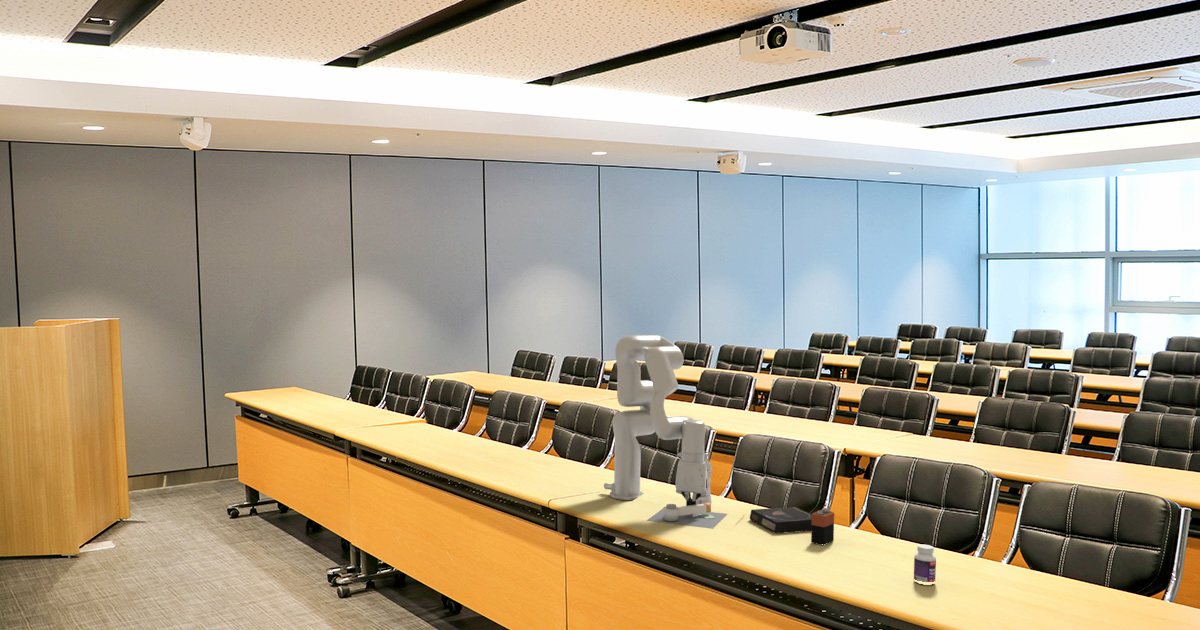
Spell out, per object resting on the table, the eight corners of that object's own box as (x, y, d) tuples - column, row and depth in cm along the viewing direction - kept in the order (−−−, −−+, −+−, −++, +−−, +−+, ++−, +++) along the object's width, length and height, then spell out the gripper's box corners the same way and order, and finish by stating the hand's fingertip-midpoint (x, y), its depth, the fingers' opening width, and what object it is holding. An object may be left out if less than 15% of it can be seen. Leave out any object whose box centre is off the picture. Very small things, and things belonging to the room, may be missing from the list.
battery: (834, 541, 271) (835, 509, 271) (823, 546, 266) (824, 513, 266) (821, 538, 274) (822, 506, 274) (810, 543, 269) (811, 510, 269)
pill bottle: (932, 587, 230) (934, 550, 230) (911, 583, 233) (912, 547, 233) (937, 581, 235) (938, 545, 234) (916, 578, 238) (917, 542, 237)
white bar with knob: (660, 518, 288) (660, 504, 287) (705, 512, 297) (705, 498, 297) (668, 521, 283) (669, 507, 283) (714, 515, 292) (714, 501, 292)
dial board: (646, 525, 286) (646, 519, 286) (664, 511, 304) (665, 506, 304) (712, 533, 277) (713, 527, 277) (727, 518, 296) (727, 513, 296)
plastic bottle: (711, 507, 311) (712, 450, 310) (711, 512, 304) (712, 454, 303) (692, 506, 311) (693, 450, 311) (692, 511, 304) (694, 453, 304)
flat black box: (749, 521, 294) (749, 509, 294) (794, 518, 300) (794, 506, 299) (774, 535, 279) (774, 522, 279) (821, 531, 284) (821, 519, 284)
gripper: (667, 457, 293) (666, 511, 294) (711, 461, 288) (709, 517, 288) (674, 453, 300) (673, 506, 301) (717, 457, 294) (715, 512, 295)
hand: (690, 511), depth 295 cm, fingers closed
